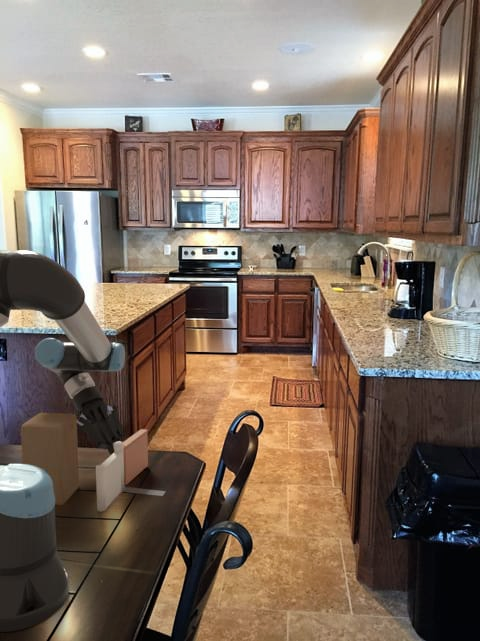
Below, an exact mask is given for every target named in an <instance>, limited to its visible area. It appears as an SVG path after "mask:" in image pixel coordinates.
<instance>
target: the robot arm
mask: <svg viewBox="0 0 480 641" xmlns="http://www.w3.org/2000/svg"><path fill="white" fill-rule="evenodd" d="M21 310H22V311H23V310H25V311H26V310H27V311H36V312H41V314H42V315H43V316H44V317H45V318H48V319H50V320H53V321H54V322H55V323H56V324H57V326H58V327H59V328H60V329H61V330H62V332H63V334H65V336H66V337H67V339H68V340H69V342H68V341H61V340H60V339H56V338H54V337H47V338H44V339H42V340H41V341H39V342H38V344H37V345H36V347H35V349H34V358H35V360H36V361H37V362H38V363H39V364H40V365H41V366H42V367H43V368H45V369H48V370H49V371H51V372H53V373H55V374H56V375H57V377H58V378H59V380H60V382H61V383H62V385H63V387H64V389H65V391H66V392H67V395H68V397H69V398H70V399H71V400H72V403H73V405H74V406H75V409H76V410H77V411H78V412H79V417H78V419H77V427H78V428H81V429H82V431H84V432H85V433H86V435H87V436H88V437H89V439H91V441H92V442H93V443H94V444H95V445H96V447H97V448H98V449H104V450H107V452H108V454H110V456H111V455H112V454H113V453H114V444H115V443H116V442H117V441H121V442H122V438H124V437H125V432H124V429H123V427H122V424H121V421H120V418H119V414H118V406H117V405H113V406H110V405H108V403H107V402H106V401H104V400H103V395H102V393H101V391H100V390H99V388H98V387H97V386H96V384H95V381H94V380H93V379H92V376H91V375H90V373H89V372H109V373H110V372H120V371H121V370H122V369H123V368H124V366H125V361H126V349H125V346H124V344H123V343H121V342H119V343H118V342H114V341H113V342H111V341H109V339H108V337H107V335H106V334H105V332H104V331H103V329H102V328H101V325H100V324H99V323H98V321H97V319H96V318H95V315H94V314H93V313H92V311H91V309H90V308H89V305H87V302H86V294H85V290H84V289H83V287H82V285H81V284H80V282H79V280H78V279H77V278H76V277H75V276H74V275H73V274H72V273H71V272H70V271H69V270H68V269H67V268H66V267H64V266H63V265H62V264H60V263H59V262H57V261H55V260H54V259H52V258H50V257H48V256H47V255H45V254H42V253H39V252H37V251H31V250H26V249H25V250H24V249H21V250H19V249H18V250H11V249H10V250H8V249H7V250H5V249H3V250H1V249H0V328H2V327H3V326H5V325H6V324H8V322H9V320H10V314H11V311H21ZM56 528H57V527H56V505H55V494H54V490H53V482H52V479H51V477H50V476H49V475H48V474H47V472H46V471H44V470H43V469H41V468H39V467H36V466H33V465H28V464H23V463H8V464H7V465H0V632H1V633H3V632H4V633H6V632H7V633H8V632H16V631H21V630H25V629H28V628H30V627H34V626H35V625H38V624H40V623H43V622H44V621H45V620H47V619H49V618H51V616H53V615H54V614H55V613H57V612H58V611H59V610H60V609H61V608H62V607H63V606H64V604H65V602H66V601H67V599H68V597H69V591H70V587H69V585H70V584H69V583H70V582H69V575H68V573H67V571H66V569H65V567H64V565H63V562H62V559H61V557H60V554H59V553H58V550H57V531H56Z"/></svg>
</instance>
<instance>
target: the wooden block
mask: <svg viewBox="0 0 480 641" xmlns="http://www.w3.org/2000/svg"><path fill="white" fill-rule="evenodd" d="M77 420H78V419H77V415H76V414H74V413H63V412H62V413H60V412H59V413H58V412H40V413H37V414H36V415H35V416H33V417H31V418H30V419H29V420H27V421H26V422H24V423H23V424H21V427H20V440H21V441H20V443H21V461H22V464H28V465H33V466H36V467H39V468H41V469H43V470H44V471H46V472H47V474H48V475H49V476H50V477H51V479H52V482H53V490H54V494H55V506H63V505H65V504H66V503H67V502H68V500H69V499H70V498H71V497H72V496H73V495H74V493H75V492H76V491H77V490H78V488H79V487H80V473H79V451H78V450H79V448H78V425H77Z"/></svg>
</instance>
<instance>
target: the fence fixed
mask: <svg viewBox="0 0 480 641" xmlns="http://www.w3.org/2000/svg"><path fill="white" fill-rule="evenodd" d="M123 442H124V441H122V440H121V441H117V442H116V443H115V444H114V453H113V454H112V455H110V456H109V457H107V458H106V459H105V460H104V461H103V462H102V463H100V464H97V465H96V466H95V482H96V483H95V485H96V510H97V512H104V511H106V510H107V509H106V508H107V507H108V506H109V505H110V504H111V503H112V501H113V500H114V499H115V498H116V497H117V496H118V495H119V493H120V492H121V491H122V490H124V486H125V485H124V452H123V449H124V444H123ZM119 496H120V495H119ZM119 496H118V497H119ZM118 497H117V498H118ZM117 498H116V499H117ZM112 504H113V503H112ZM112 504H111V505H112ZM111 505H110V506H111Z"/></svg>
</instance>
